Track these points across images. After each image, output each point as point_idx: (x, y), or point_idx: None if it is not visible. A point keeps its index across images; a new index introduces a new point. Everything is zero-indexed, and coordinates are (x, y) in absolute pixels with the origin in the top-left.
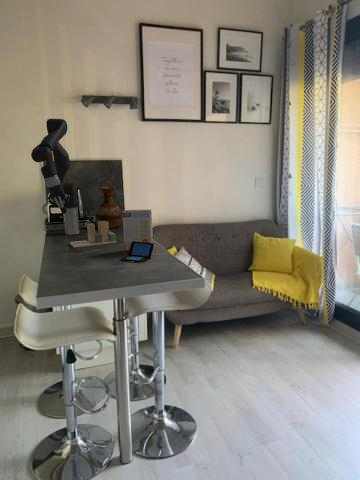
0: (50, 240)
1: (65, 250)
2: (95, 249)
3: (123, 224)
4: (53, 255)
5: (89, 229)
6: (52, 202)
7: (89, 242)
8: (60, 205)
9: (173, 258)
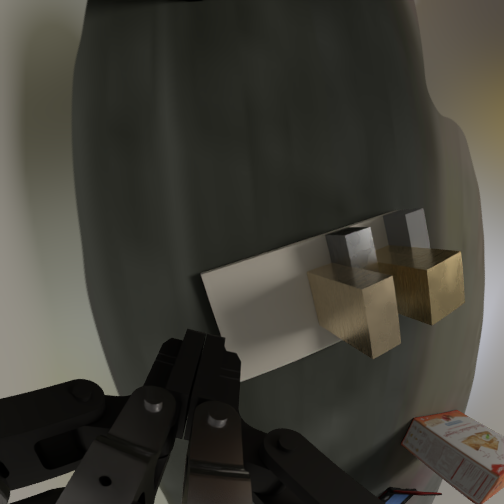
0: (77, 122)
1: None
2: (329, 420)
3: (451, 485)
4: (180, 486)
5: (355, 342)
6: (16, 485)
7: (312, 312)
8: (163, 469)
9: None
